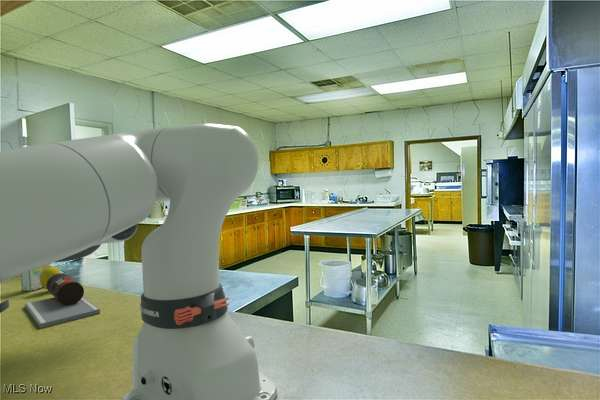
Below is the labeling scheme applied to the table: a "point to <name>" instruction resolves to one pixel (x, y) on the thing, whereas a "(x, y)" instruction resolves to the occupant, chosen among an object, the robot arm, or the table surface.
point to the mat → (59, 311)
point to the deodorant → (65, 289)
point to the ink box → (32, 279)
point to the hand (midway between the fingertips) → (68, 218)
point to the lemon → (48, 275)
